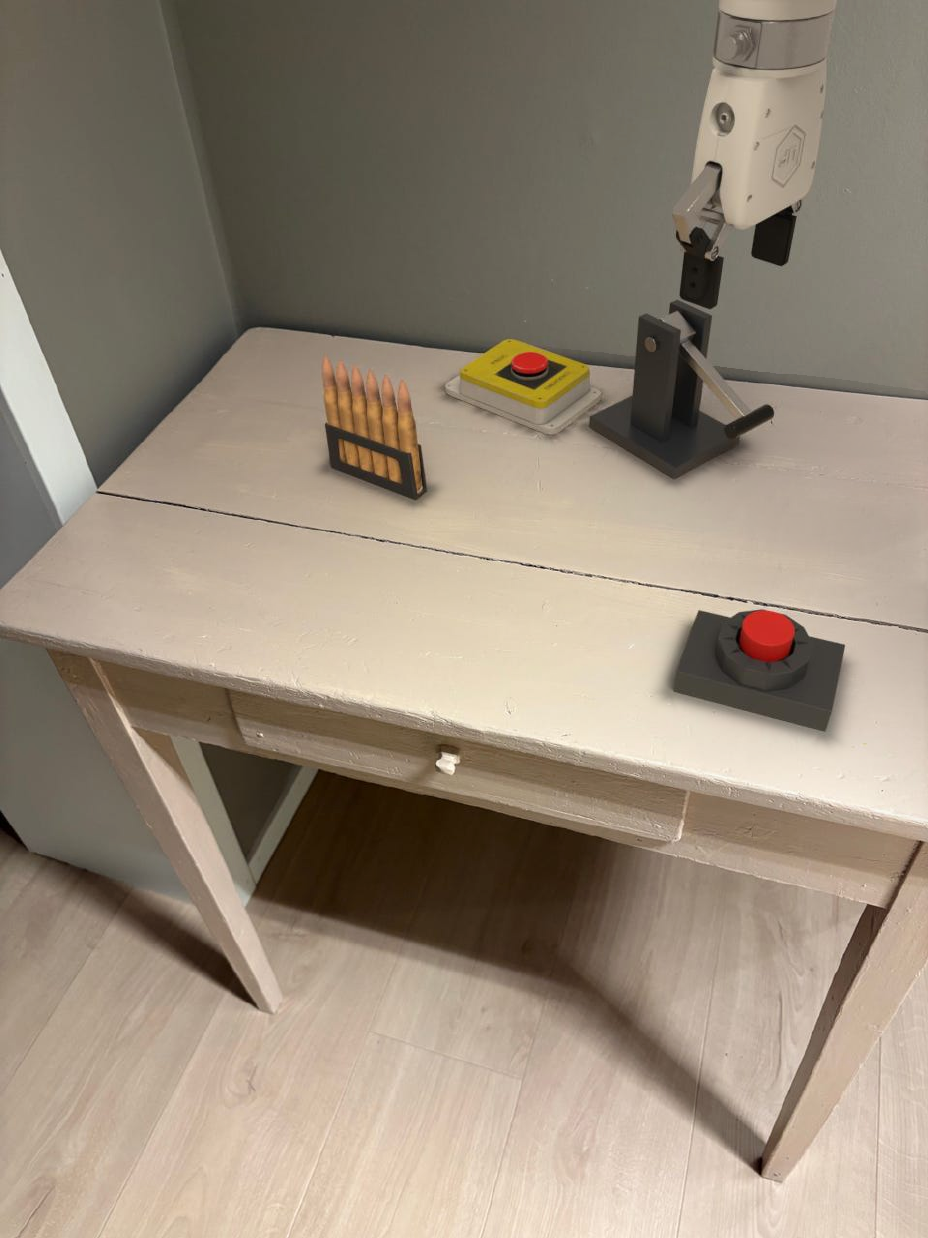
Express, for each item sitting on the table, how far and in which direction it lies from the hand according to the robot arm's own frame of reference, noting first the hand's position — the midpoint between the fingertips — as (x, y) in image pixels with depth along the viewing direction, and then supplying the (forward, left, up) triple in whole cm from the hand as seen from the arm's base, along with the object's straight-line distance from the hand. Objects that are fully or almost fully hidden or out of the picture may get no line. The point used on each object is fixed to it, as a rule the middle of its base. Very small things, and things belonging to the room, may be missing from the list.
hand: (734, 281), depth 77 cm
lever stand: (+6, -6, -20) cm, 21 cm away
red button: (-9, +23, -16) cm, 30 cm away
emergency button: (+22, -9, -20) cm, 31 cm away
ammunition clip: (+30, +10, -20) cm, 37 cm away
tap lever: (+2, -4, -12) cm, 13 cm away
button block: (-9, +23, -20) cm, 32 cm away
